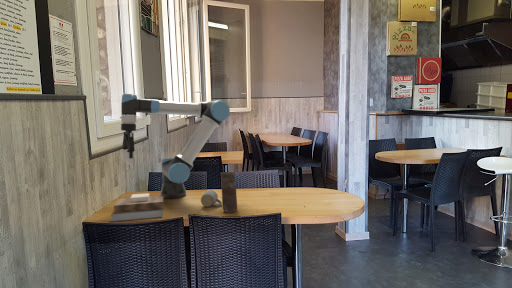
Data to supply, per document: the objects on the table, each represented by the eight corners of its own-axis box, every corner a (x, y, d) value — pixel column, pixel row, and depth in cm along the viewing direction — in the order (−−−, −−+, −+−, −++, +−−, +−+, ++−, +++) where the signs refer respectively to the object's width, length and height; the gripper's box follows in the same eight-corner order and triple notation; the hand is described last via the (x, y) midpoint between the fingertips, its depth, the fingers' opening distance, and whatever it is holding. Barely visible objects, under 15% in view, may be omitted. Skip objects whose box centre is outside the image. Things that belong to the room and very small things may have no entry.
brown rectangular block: (219, 211, 182) (217, 172, 180) (230, 208, 187) (229, 170, 185) (229, 214, 176) (227, 173, 174) (240, 211, 181) (239, 171, 180)
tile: (149, 197, 199) (149, 193, 199) (148, 200, 191) (148, 196, 191) (132, 198, 197) (132, 194, 197) (130, 202, 189) (130, 197, 189)
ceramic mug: (200, 207, 190) (199, 193, 189) (204, 203, 198) (204, 189, 197) (219, 208, 188) (219, 193, 188) (223, 204, 196) (223, 190, 196)
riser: (164, 202, 202) (163, 195, 202) (163, 209, 188) (162, 201, 188) (118, 206, 197) (118, 199, 196) (114, 213, 183) (113, 205, 183)
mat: (163, 209, 187) (163, 208, 187) (162, 217, 174) (162, 216, 174) (114, 213, 182) (114, 212, 182) (109, 222, 169) (109, 221, 169)
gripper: (117, 122, 201) (116, 160, 202) (125, 123, 179) (124, 166, 181) (131, 122, 205) (130, 160, 206) (141, 124, 183) (140, 165, 185)
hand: (127, 162), depth 194 cm, fingers open, 13 cm apart
